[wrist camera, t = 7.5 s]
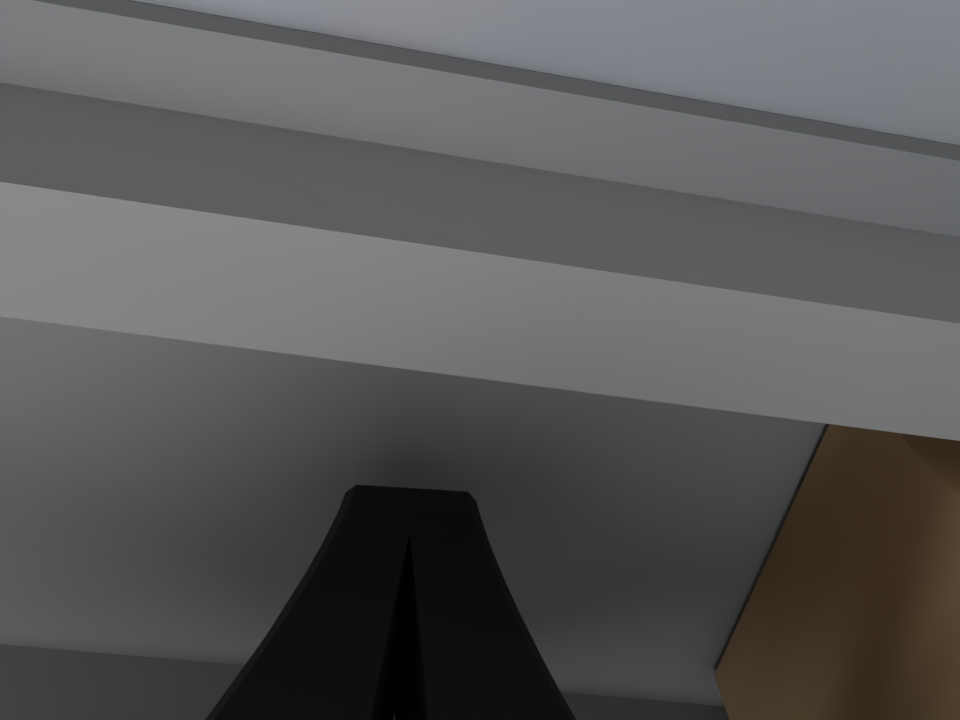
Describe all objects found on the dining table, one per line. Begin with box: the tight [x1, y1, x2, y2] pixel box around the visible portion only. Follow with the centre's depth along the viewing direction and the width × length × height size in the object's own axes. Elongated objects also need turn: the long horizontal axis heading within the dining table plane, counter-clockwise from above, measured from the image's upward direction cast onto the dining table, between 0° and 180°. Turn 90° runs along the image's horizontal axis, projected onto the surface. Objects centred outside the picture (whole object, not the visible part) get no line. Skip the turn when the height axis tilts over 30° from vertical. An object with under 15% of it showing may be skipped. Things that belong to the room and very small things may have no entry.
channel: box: [0, 0, 960, 720], centre depth 9 cm, size 10×24×4 cm, turn 80°
